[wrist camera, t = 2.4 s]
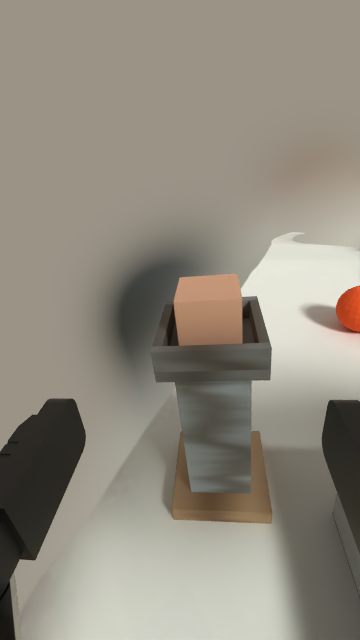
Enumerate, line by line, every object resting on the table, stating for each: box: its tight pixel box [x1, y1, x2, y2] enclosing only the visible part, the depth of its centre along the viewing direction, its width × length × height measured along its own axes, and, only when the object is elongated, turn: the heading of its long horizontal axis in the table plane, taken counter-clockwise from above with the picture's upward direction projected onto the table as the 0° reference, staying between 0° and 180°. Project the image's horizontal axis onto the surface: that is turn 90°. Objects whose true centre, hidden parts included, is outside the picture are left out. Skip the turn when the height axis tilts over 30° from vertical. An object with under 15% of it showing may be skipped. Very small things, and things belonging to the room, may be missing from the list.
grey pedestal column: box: [151, 296, 272, 524], centre depth 25 cm, size 8×8×17 cm
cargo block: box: [173, 274, 243, 346], centre depth 21 cm, size 4×4×4 cm
